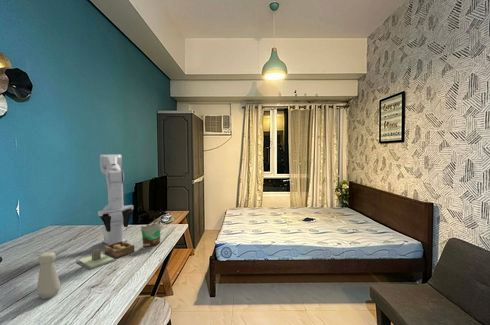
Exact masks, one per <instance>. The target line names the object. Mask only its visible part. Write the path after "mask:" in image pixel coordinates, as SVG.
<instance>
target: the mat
mask: <svg viewBox="0 0 490 325" xmlns="http://www.w3.org/2000/svg"><path fill="white" fill-rule="evenodd" d="M116 261H117V258H114V260H112V261H109V262H106V263H104V264H101V265H98V266H95V267H92V268H90V267H88V266H87V265H85V264H83V263H81V262H79V260H77V261H75V262H76V264H79V265H80V266H82V267H84V268H85V269H88V271H89V270H90V271H91V270H93V269H96V268H99V267H102V266H105V265H108V264H110V263H114V262H116Z"/></svg>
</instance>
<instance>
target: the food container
mask: <svg viewBox="0 0 490 325" xmlns="http://www.w3.org/2000/svg"><path fill="white" fill-rule="evenodd" d="M162 227H163V224H162V222H161V220H159V219H154V221H153V222H151V223H148V224H147V225H146V226H145V225H144V226H143V225H142V226H141V227H140V232H141V236H142V247H143V248H153V247H156V246H158V245H159V244H160V243H161V230H162ZM152 246H153V247H152Z"/></svg>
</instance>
